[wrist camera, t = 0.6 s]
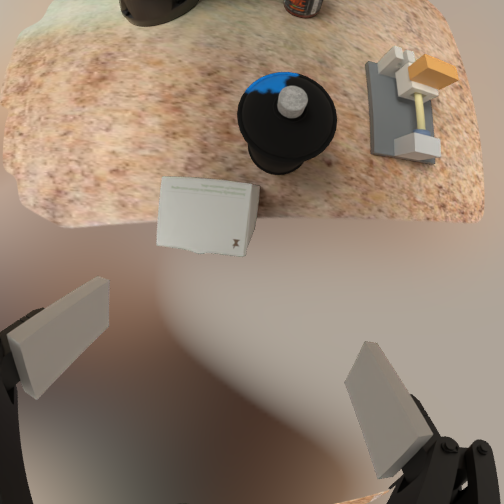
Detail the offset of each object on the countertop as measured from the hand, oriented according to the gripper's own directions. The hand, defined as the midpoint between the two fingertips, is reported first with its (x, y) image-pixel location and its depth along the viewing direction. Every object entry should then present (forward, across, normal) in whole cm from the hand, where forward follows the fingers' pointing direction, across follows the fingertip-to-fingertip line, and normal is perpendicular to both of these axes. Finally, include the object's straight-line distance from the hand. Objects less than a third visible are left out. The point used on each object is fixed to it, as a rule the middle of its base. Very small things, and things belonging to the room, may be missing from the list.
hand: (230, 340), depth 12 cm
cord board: (+27, +17, +25) cm, 40 cm away
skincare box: (+27, -4, +4) cm, 27 cm away
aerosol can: (+27, 0, +14) cm, 30 cm away
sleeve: (+23, +17, +28) cm, 40 cm away
